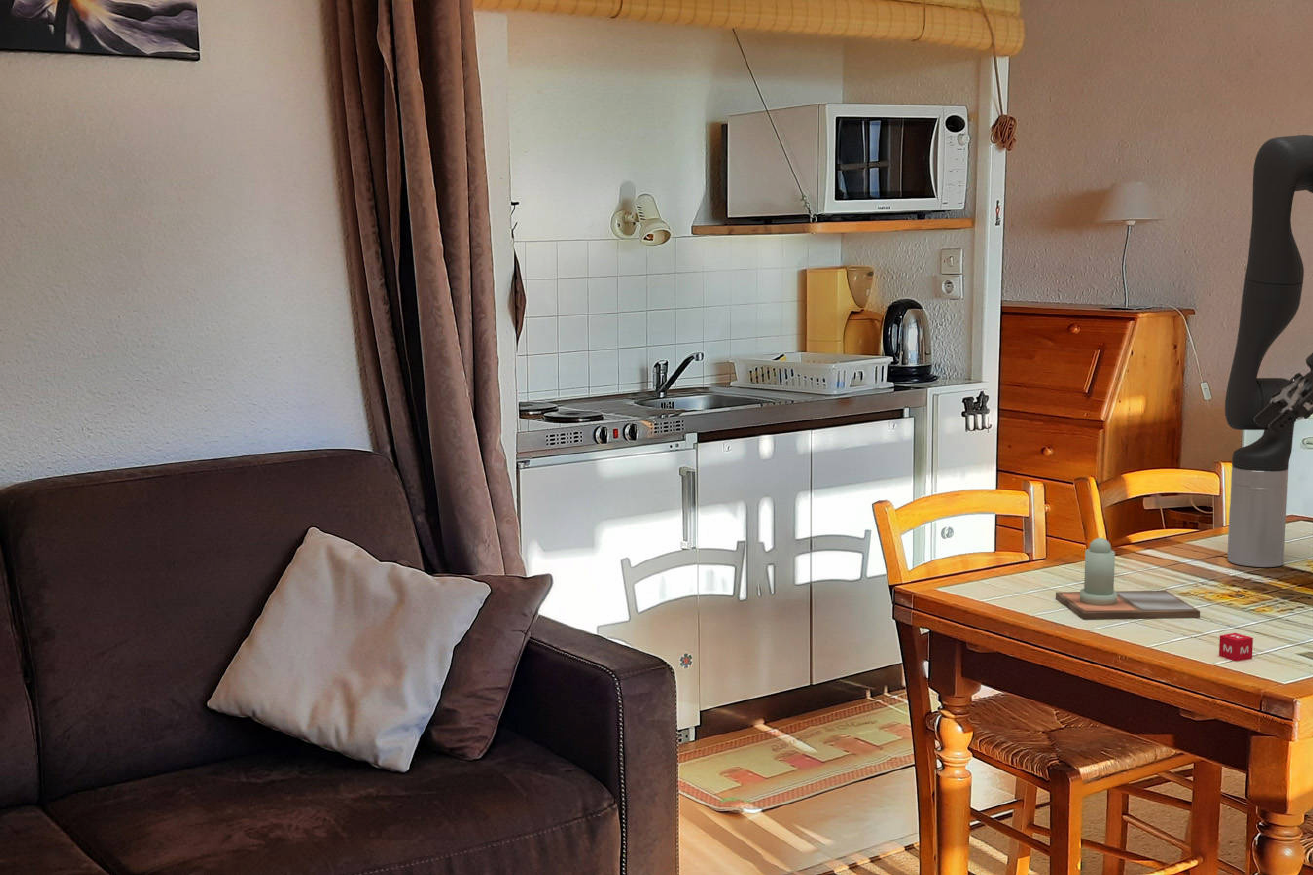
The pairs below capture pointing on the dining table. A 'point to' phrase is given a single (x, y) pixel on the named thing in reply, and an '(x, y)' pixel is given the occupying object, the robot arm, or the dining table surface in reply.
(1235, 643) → the dice
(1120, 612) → the brown flat rectangular board
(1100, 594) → the pawn
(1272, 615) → the dining table surface
